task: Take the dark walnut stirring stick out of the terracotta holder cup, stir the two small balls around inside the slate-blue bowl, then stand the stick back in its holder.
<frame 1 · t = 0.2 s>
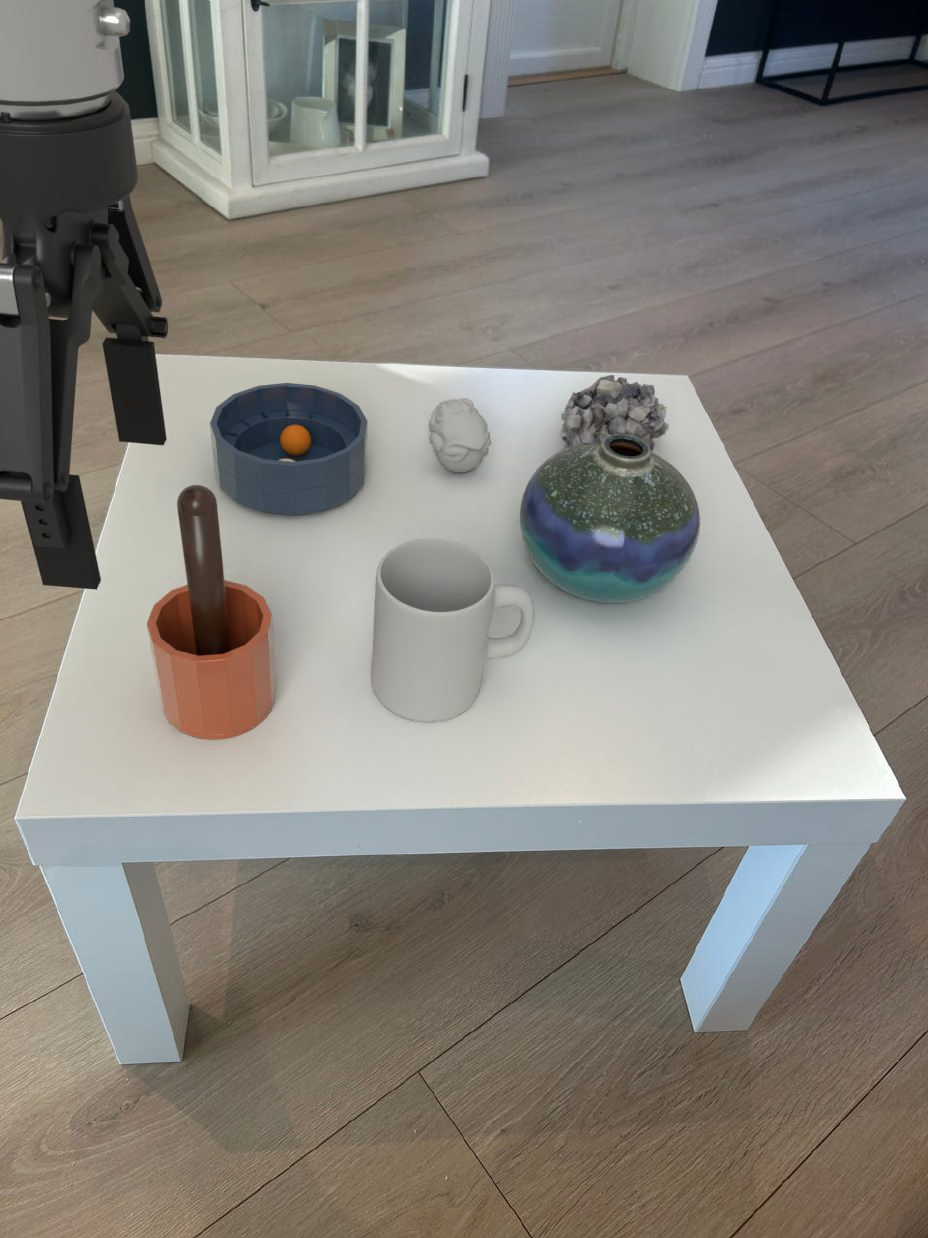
hand: (111, 505, 55), 21 cm above the table, tool pointing down, fingers open, 13 cm apart
bowl: (291, 475, 94), on the table
vase: (595, 573, 87), on the table
stick: (218, 692, 72), resting on holder
frog figurine: (456, 468, 98), on the table
mug: (447, 682, 76), on the table
mineral specimen: (607, 450, 103), on the table
ball b: (286, 474, 90), point 2 cm above the table, touching bowl
holder: (219, 697, 72), on the table
ball a: (295, 440, 95), point 2 cm above the table, touching bowl
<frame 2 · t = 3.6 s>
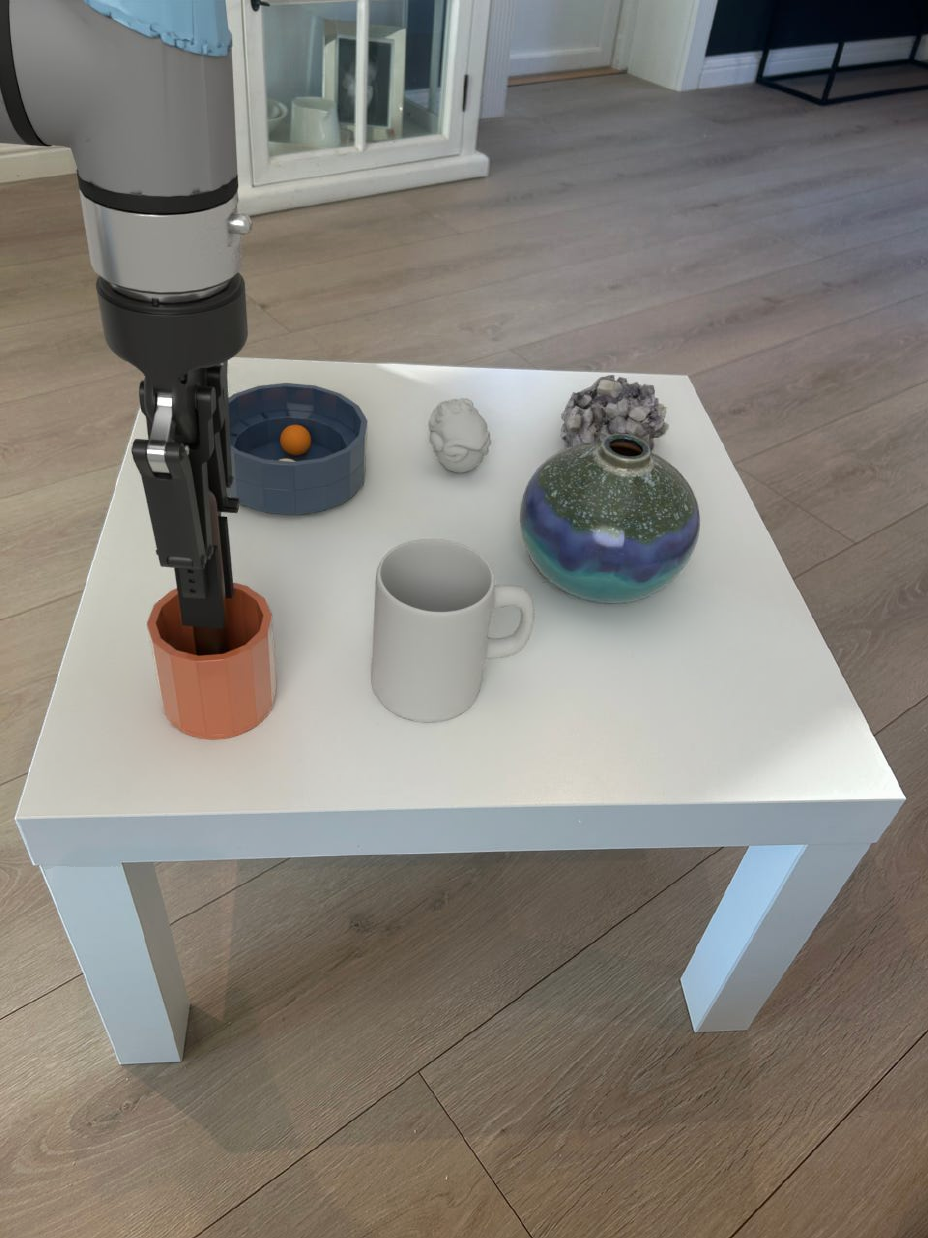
hand: (208, 607, 66), 9 cm above the table, tool pointing down, fingers closed on stick, 2 cm apart
stick: (218, 692, 72), point 1 cm above the table, touching gripper
everything else where it was.
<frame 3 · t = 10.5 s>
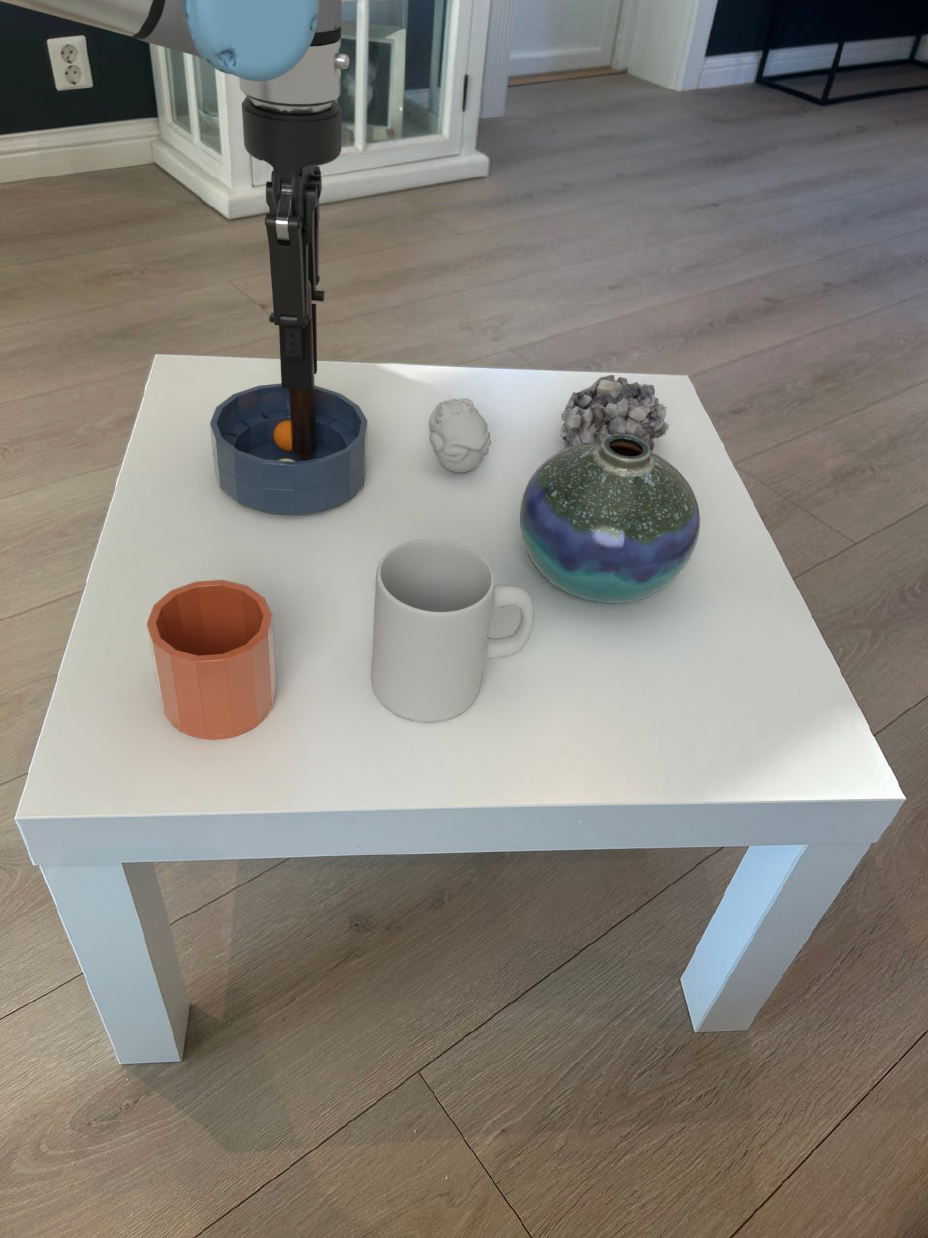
hand: (299, 378, 89), 9 cm above the table, tool pointing down, fingers closed on stick, 2 cm apart
stick: (305, 458, 94), point 1 cm above the table, touching ball a, gripper
ball a: (288, 435, 95), point 2 cm above the table, tilted 37°, touching bowl, stick
everything else where it was.
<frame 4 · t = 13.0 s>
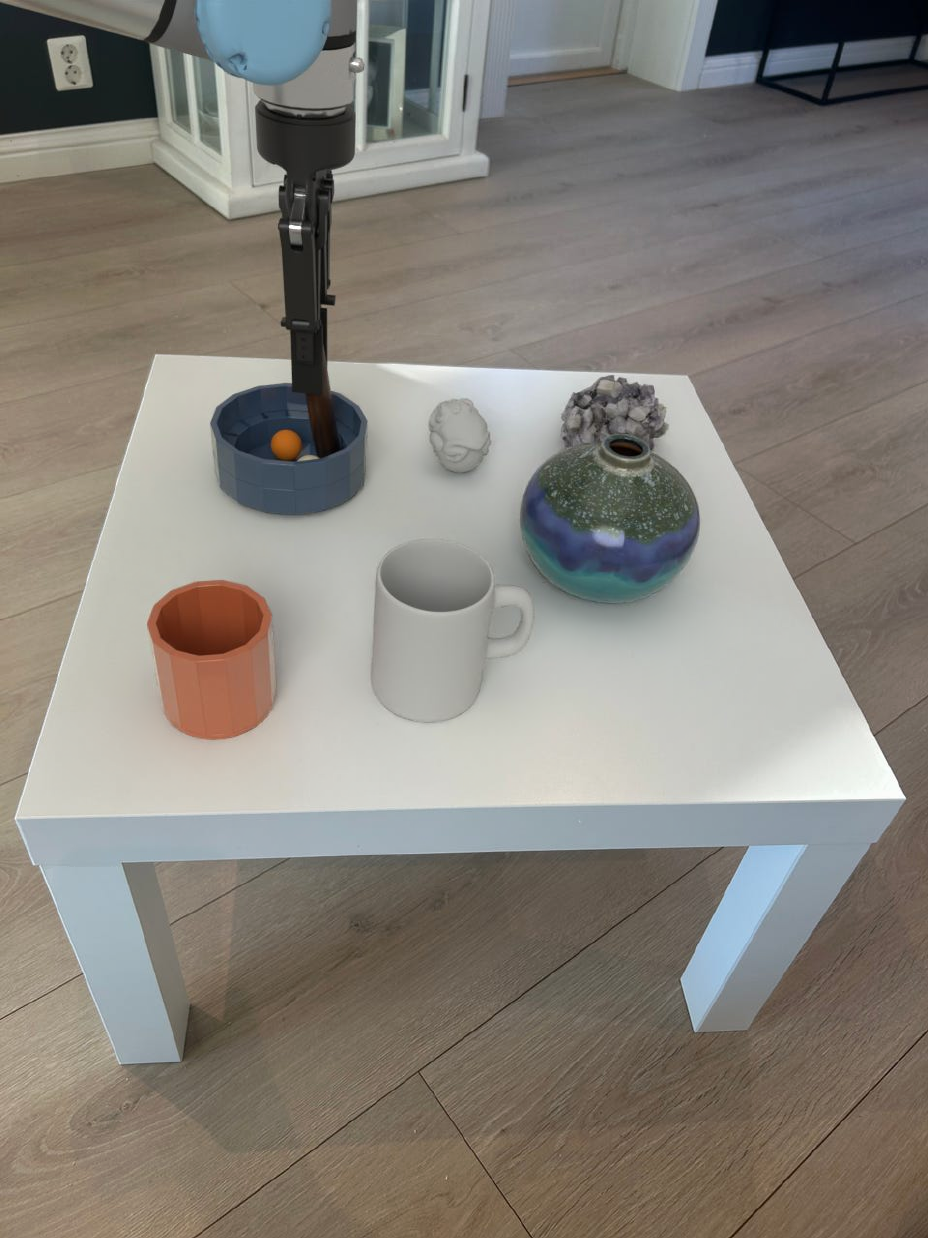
hand: (310, 382, 88), 10 cm above the table, tool pointing down, fingers closed on stick, 2 cm apart
stick: (329, 461, 94), point 1 cm above the table, tilted 8°, touching gripper
ball b: (310, 471, 91), point 2 cm above the table, tilted 27°, touching bowl
ball a: (286, 445, 94), point 2 cm above the table, tilted 35°, touching bowl
everything else where it was.
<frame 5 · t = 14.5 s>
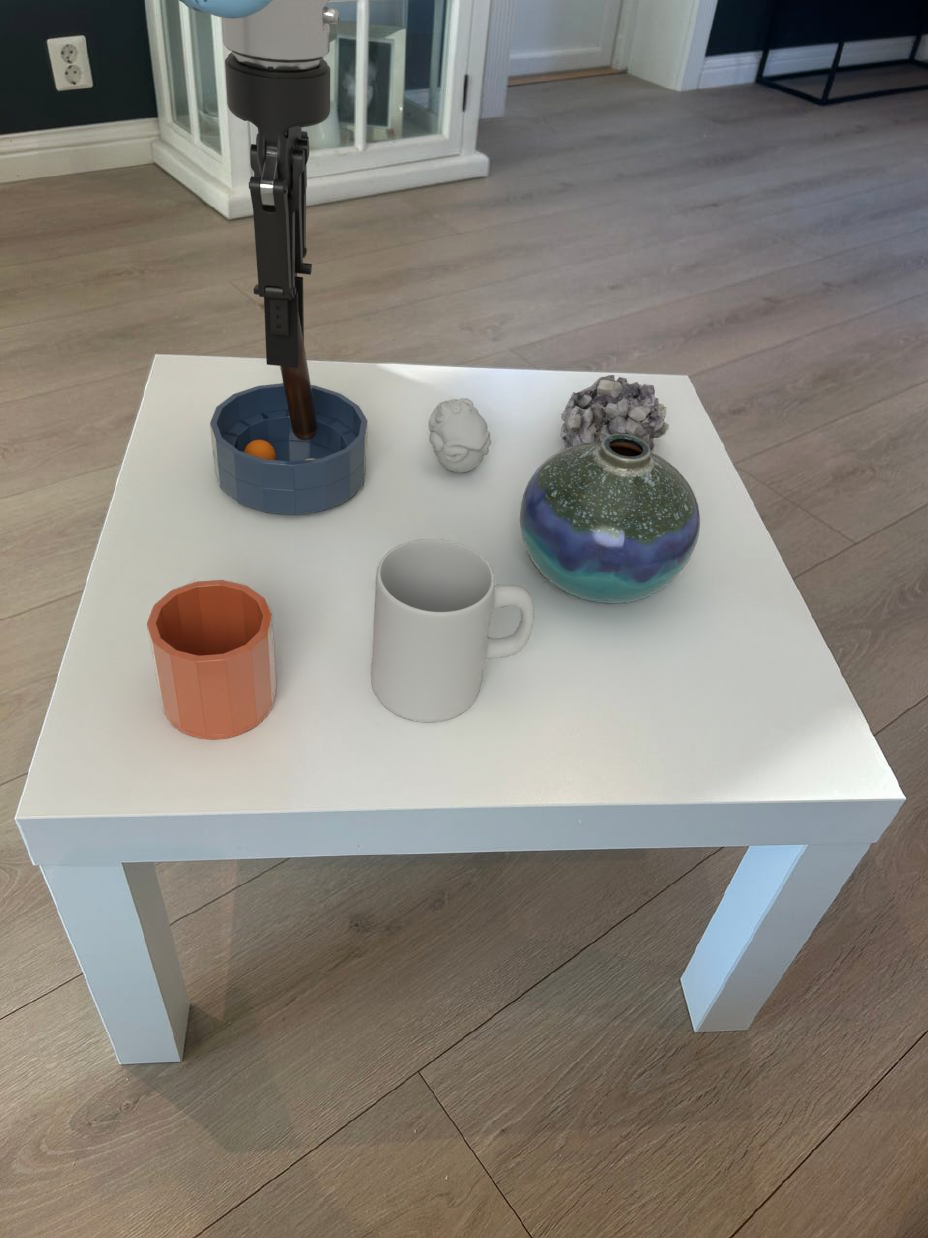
hand: (285, 355, 85), 13 cm above the table, tool pointing down, fingers closed on stick, 2 cm apart
stick: (306, 438, 91), point 4 cm above the table, tilted 8°, touching gripper
ball b: (312, 474, 91), point 2 cm above the table, tilted 15°, touching bowl
ball a: (259, 455, 92), point 2 cm above the table, tilted 141°, touching bowl
everything else where it was.
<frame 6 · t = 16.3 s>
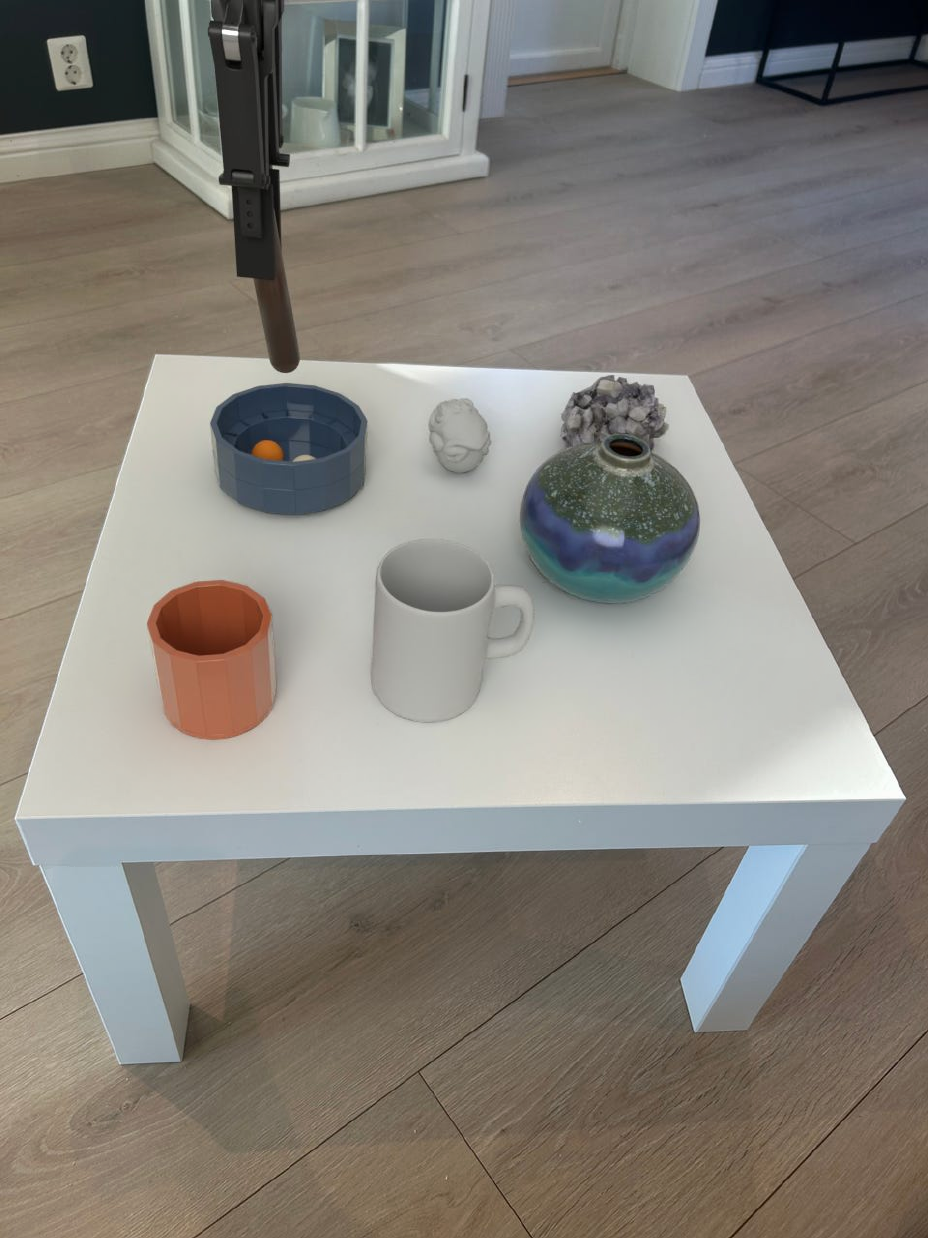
hand: (259, 267, 71), 24 cm above the table, tool pointing down, fingers closed on stick, 2 cm apart
stick: (287, 371, 77), point 16 cm above the table, tilted 8°, touching gripper
ball b: (305, 470, 91), point 2 cm above the table, tilted 43°, touching bowl
ball a: (267, 456, 92), point 2 cm above the table, tilted 129°, touching bowl
everything else where it was.
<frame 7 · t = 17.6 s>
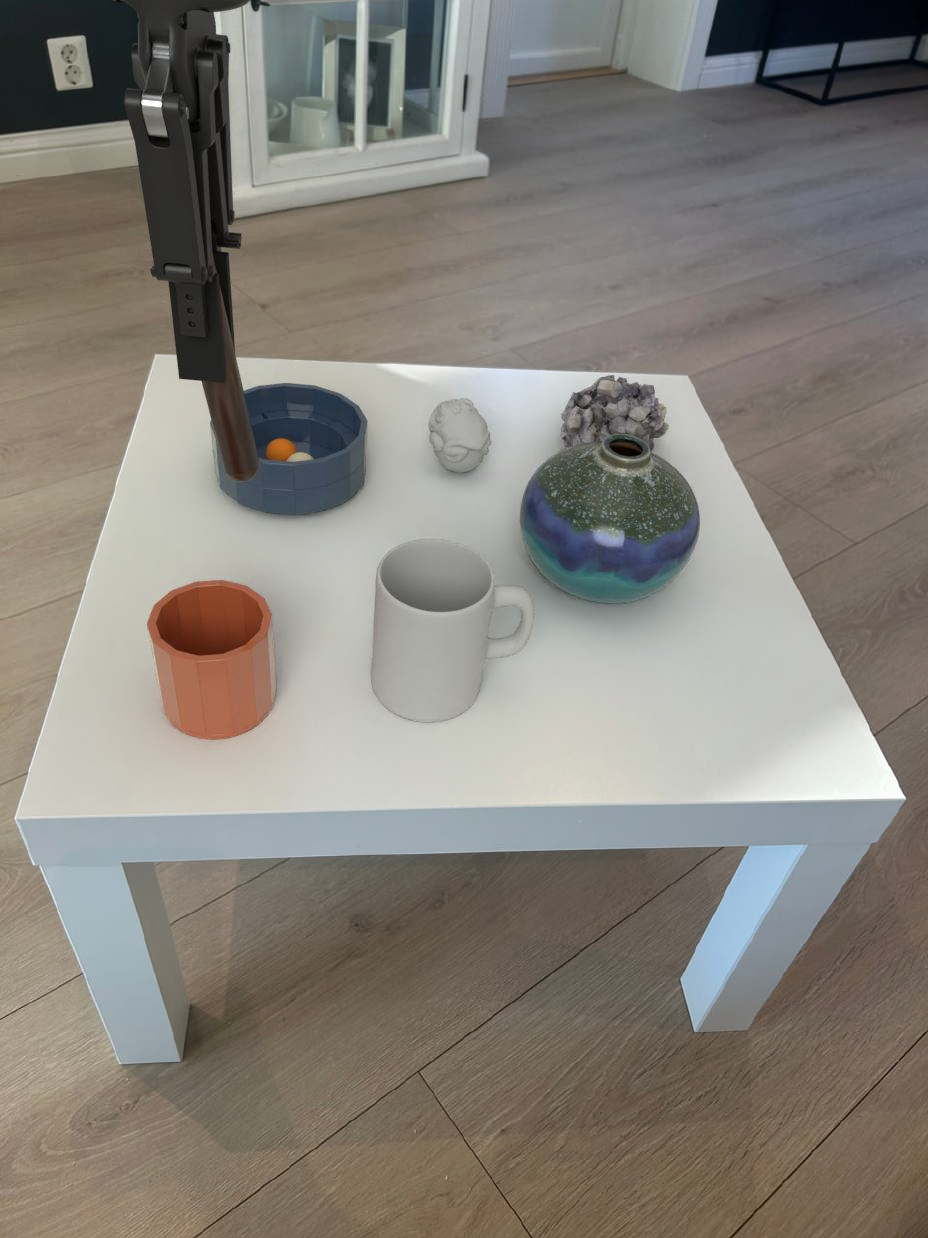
hand: (207, 365, 60), 24 cm above the table, tool pointing down, fingers closed on stick, 2 cm apart
stick: (245, 478, 66), point 16 cm above the table, tilted 8°, touching gripper
ball b: (301, 468, 91), point 2 cm above the table, tilted 65°, touching bowl
ball a: (281, 454, 93), point 2 cm above the table, tilted 84°, touching bowl
everything else where it was.
when the fingers open (9 cm above the table, at t = 22.6 s): stick stays where it is and tips over, resting on holder.
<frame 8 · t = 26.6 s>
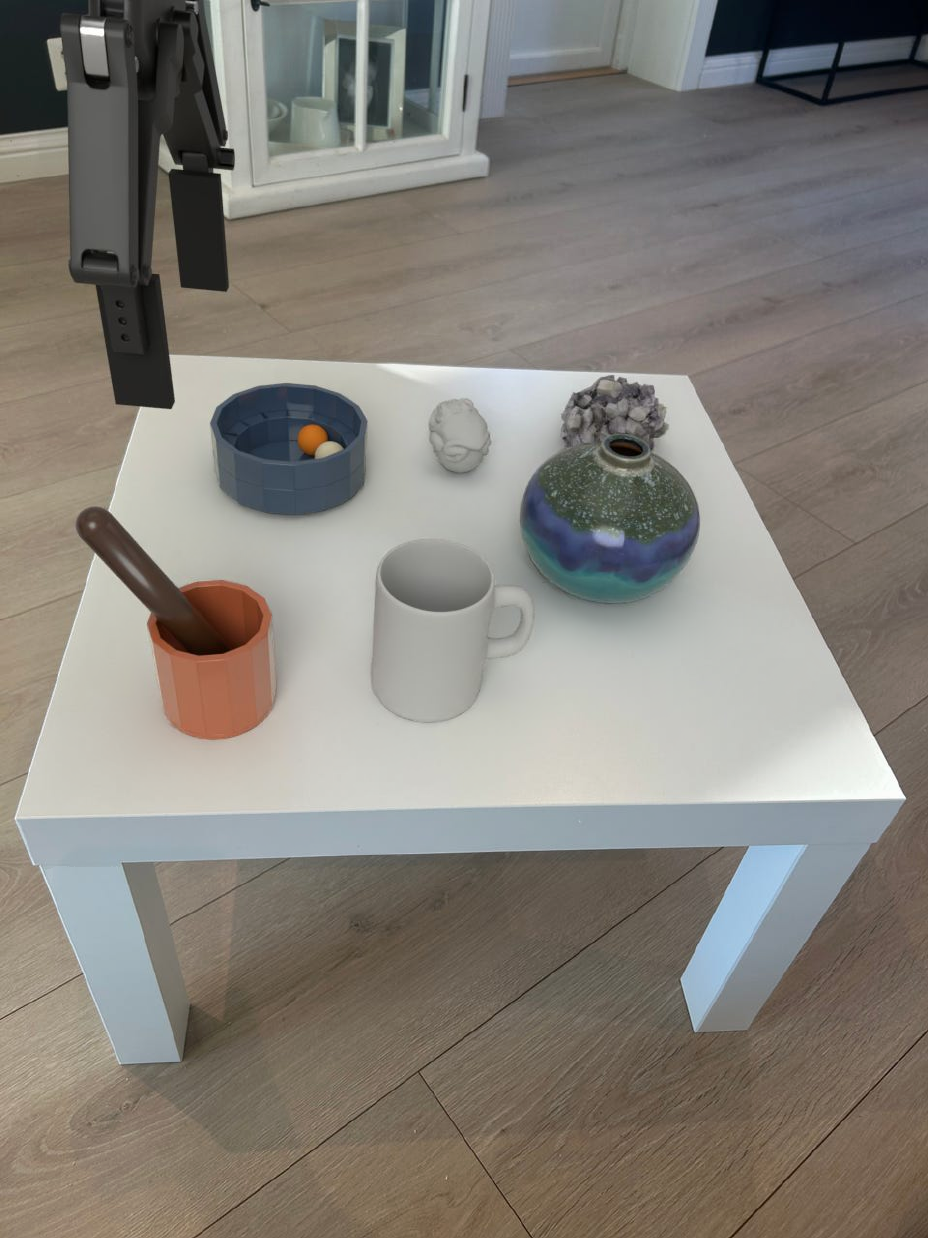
hand: (178, 340, 53), 29 cm above the table, tool pointing down, fingers open, 13 cm apart
stick: (250, 693, 72), point 1 cm above the table, tilted 31°, touching holder
ball b: (330, 457, 93), point 2 cm above the table, tilted 89°, touching bowl
ball a: (312, 439, 95), point 2 cm above the table, tilted 67°, touching bowl
everything else where it was.
at the end: ball a moved 1.7 cm from its start; ball a inside the target area in the bowl (3.7 cm from its centre), point 2.1 cm above the bowl's base; stick inside the target area in the holder (2.3 cm from its centre), point 0.7 cm above the holder's base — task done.
